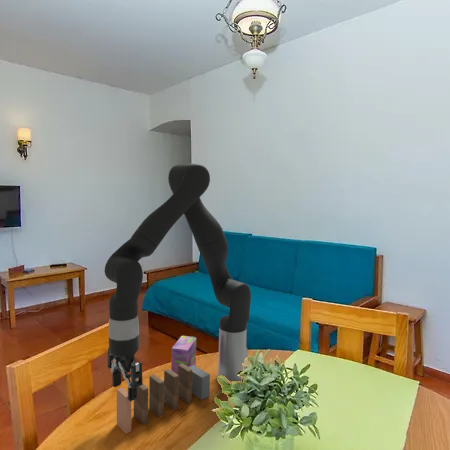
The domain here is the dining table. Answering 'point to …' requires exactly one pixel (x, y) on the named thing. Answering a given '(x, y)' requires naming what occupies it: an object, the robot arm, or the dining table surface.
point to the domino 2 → (156, 395)
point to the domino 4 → (185, 383)
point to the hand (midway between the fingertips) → (124, 392)
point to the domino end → (123, 410)
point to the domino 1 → (141, 405)
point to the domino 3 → (171, 388)
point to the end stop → (200, 382)
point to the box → (183, 352)
